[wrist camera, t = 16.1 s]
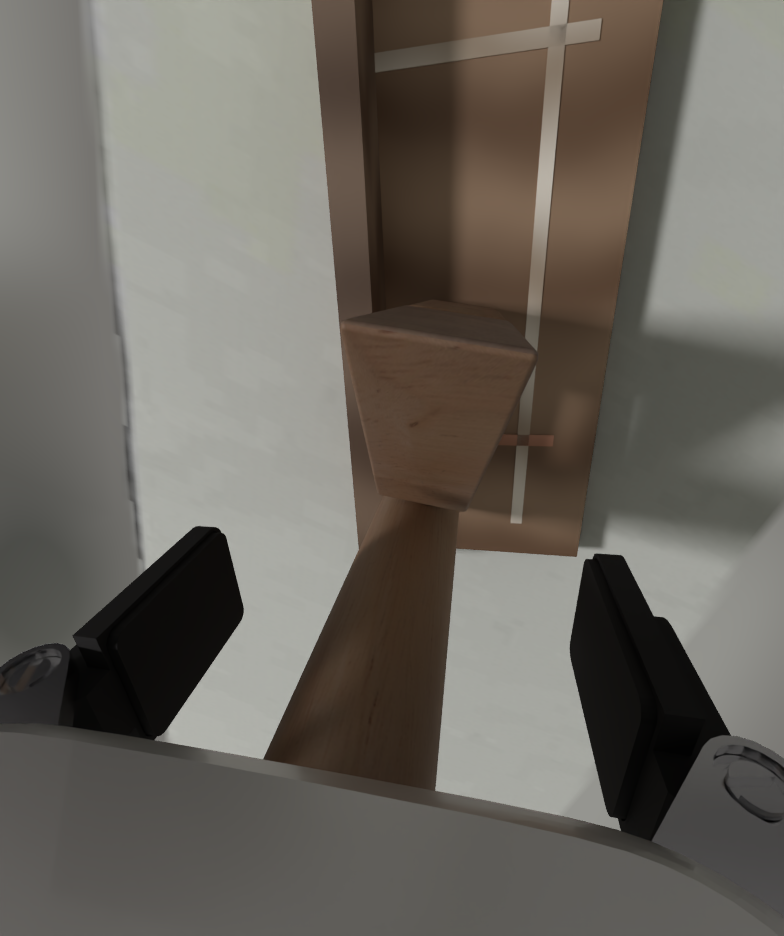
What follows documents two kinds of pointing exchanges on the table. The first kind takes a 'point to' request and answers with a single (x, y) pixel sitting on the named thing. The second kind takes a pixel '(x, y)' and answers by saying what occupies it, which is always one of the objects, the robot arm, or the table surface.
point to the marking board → (491, 211)
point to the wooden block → (405, 537)
